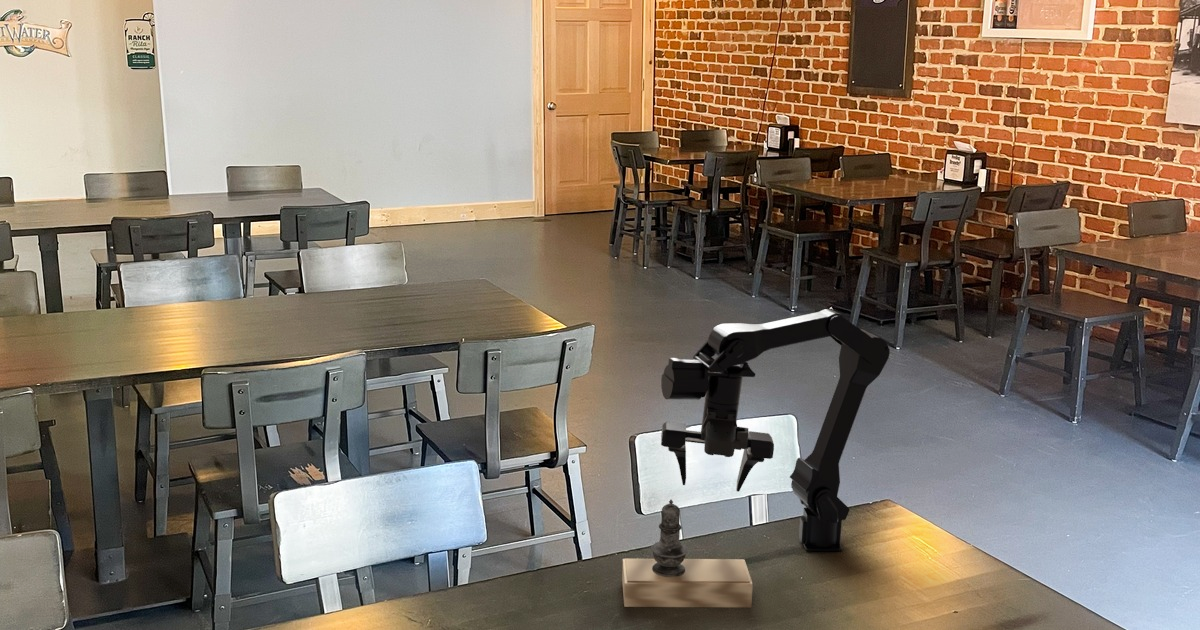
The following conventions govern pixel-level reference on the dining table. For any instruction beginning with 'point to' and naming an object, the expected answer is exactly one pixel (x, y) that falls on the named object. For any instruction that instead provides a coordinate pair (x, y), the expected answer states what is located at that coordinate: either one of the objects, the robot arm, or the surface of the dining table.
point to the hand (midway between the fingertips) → (710, 487)
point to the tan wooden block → (688, 584)
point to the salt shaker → (669, 544)
